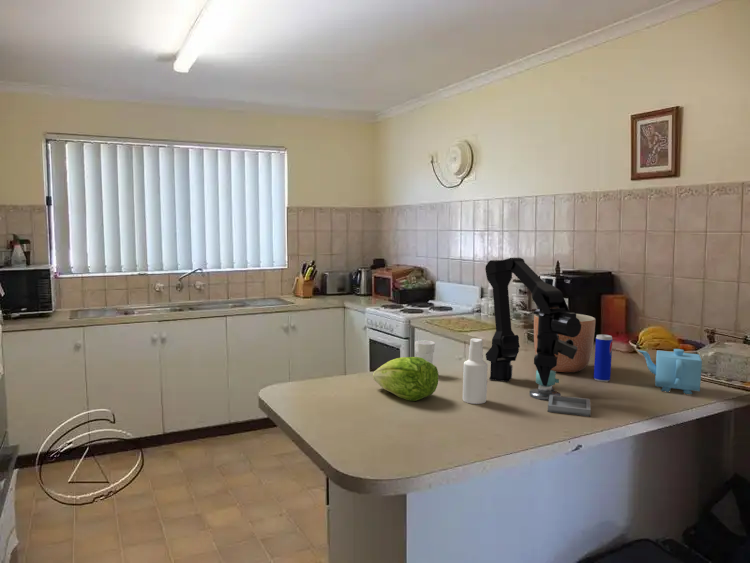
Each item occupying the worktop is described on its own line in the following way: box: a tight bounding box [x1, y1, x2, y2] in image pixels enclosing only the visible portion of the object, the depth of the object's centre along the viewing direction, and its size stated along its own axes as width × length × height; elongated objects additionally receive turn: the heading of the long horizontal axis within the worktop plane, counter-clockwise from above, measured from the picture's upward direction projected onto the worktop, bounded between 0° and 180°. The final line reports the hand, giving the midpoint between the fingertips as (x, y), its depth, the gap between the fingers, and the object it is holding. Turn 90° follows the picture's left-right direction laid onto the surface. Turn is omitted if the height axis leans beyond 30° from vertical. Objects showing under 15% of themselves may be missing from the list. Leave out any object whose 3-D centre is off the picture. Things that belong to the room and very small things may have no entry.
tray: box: [547, 395, 592, 418], centre depth 164 cm, size 11×11×2 cm
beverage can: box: [593, 334, 613, 383], centre depth 195 cm, size 5×5×15 cm
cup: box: [414, 340, 436, 364], centre depth 199 cm, size 7×7×11 cm
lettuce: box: [372, 356, 439, 402], centre depth 174 cm, size 13×22×14 cm
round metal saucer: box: [528, 384, 562, 401], centre depth 176 cm, size 9×9×4 cm
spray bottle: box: [462, 337, 489, 405], centre depth 169 cm, size 7×7×18 cm
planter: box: [533, 313, 596, 374], centre depth 209 cm, size 21×21×19 cm
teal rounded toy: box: [535, 369, 560, 386], centre depth 175 cm, size 7×6×4 cm
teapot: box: [637, 348, 703, 395], centre depth 186 cm, size 18×16×13 cm
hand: (545, 382), depth 175 cm, fingers closed on teal rounded toy, 6 cm apart
